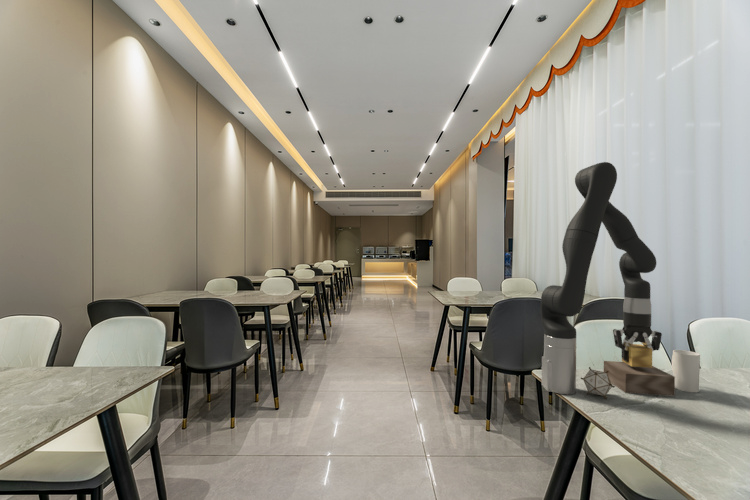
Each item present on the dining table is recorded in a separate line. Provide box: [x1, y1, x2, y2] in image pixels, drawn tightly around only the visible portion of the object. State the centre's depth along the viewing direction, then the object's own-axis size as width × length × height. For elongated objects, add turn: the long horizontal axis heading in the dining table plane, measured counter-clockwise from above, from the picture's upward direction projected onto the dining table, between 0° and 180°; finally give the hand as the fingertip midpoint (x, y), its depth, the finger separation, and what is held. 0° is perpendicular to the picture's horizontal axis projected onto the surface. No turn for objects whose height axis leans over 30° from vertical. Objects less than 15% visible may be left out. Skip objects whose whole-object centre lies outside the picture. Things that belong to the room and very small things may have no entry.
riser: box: [603, 360, 676, 397], centre depth 118 cm, size 14×14×6 cm
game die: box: [580, 366, 616, 400], centre depth 109 cm, size 9×8×10 cm
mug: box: [671, 349, 701, 394], centre depth 117 cm, size 10×7×12 cm, turn 171°
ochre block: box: [621, 343, 653, 368], centre depth 118 cm, size 6×6×6 cm
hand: (636, 361), depth 118 cm, fingers closed on ochre block, 6 cm apart
